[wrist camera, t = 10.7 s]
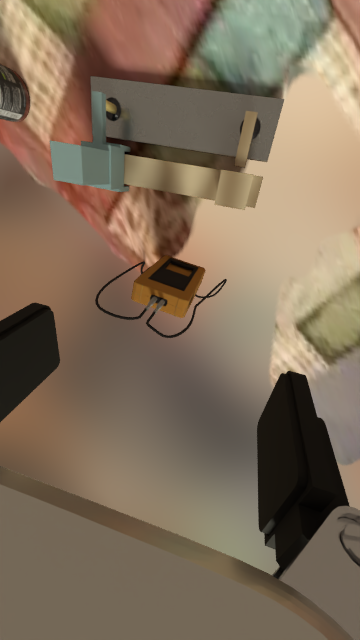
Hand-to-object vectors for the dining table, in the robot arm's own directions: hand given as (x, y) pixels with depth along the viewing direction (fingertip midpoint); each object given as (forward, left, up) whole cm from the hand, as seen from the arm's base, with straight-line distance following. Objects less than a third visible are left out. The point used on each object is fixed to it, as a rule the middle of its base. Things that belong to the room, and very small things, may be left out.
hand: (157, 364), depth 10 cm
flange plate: (+9, -12, -32) cm, 36 cm away
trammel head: (+18, -8, -32) cm, 37 cm away
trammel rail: (+9, -8, -32) cm, 35 cm away
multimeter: (+6, +11, -33) cm, 35 cm away
